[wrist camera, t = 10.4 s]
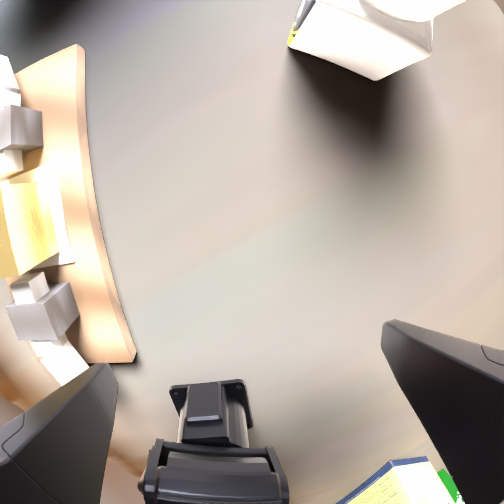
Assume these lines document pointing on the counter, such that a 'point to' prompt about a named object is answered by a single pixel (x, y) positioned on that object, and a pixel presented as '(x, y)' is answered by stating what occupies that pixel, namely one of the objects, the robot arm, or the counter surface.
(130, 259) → the counter surface
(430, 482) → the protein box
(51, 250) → the block
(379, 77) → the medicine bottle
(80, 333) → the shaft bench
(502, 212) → the counter surface
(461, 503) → the milk carton
